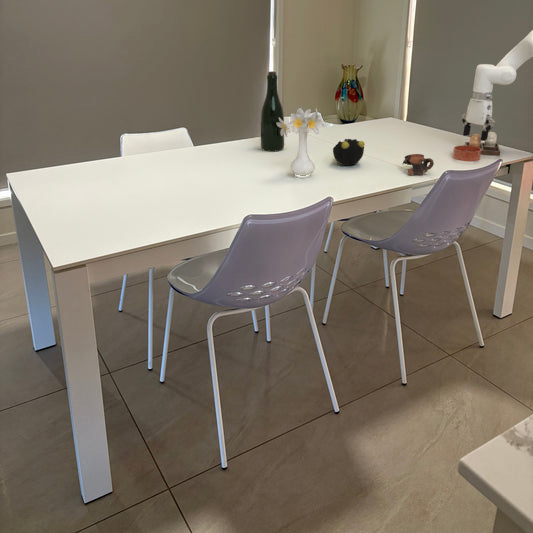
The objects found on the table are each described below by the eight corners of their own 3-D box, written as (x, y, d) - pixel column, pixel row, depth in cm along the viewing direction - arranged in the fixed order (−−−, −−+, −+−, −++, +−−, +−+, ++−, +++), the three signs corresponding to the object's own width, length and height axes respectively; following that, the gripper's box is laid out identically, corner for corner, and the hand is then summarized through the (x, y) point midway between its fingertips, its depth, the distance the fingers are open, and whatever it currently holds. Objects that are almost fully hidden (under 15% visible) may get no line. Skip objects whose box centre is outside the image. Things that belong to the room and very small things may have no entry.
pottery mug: (400, 176, 224) (399, 154, 225) (407, 181, 233) (406, 160, 233) (431, 171, 218) (430, 150, 219) (438, 177, 227) (437, 156, 227)
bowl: (479, 156, 247) (481, 146, 245) (480, 163, 237) (482, 152, 235) (452, 155, 249) (453, 144, 248) (452, 162, 240) (453, 151, 238)
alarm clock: (360, 169, 244) (376, 139, 235) (344, 179, 233) (360, 148, 224) (337, 154, 247) (352, 123, 238) (320, 163, 236) (336, 131, 227)
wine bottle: (259, 151, 258) (258, 73, 243) (261, 146, 267) (260, 70, 253) (283, 152, 257) (284, 73, 243) (284, 146, 266) (284, 69, 252)
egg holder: (497, 149, 258) (498, 143, 257) (499, 157, 246) (500, 151, 245) (464, 147, 261) (465, 141, 260) (464, 155, 249) (465, 149, 248)
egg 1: (479, 151, 252) (481, 132, 249) (479, 153, 248) (482, 135, 245) (468, 150, 254) (470, 132, 250) (468, 153, 250) (470, 134, 246)
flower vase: (271, 177, 223) (271, 110, 212) (308, 168, 233) (310, 104, 222) (293, 185, 214) (294, 115, 203) (331, 175, 224) (333, 109, 213)
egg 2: (494, 148, 257) (497, 130, 253) (495, 151, 253) (498, 133, 249) (483, 148, 258) (486, 130, 254) (483, 150, 254) (486, 132, 250)
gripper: (504, 98, 236) (497, 141, 243) (472, 92, 250) (465, 132, 257) (491, 100, 233) (484, 143, 240) (459, 93, 246) (453, 134, 254)
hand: (474, 137), depth 248 cm, fingers open, 9 cm apart
